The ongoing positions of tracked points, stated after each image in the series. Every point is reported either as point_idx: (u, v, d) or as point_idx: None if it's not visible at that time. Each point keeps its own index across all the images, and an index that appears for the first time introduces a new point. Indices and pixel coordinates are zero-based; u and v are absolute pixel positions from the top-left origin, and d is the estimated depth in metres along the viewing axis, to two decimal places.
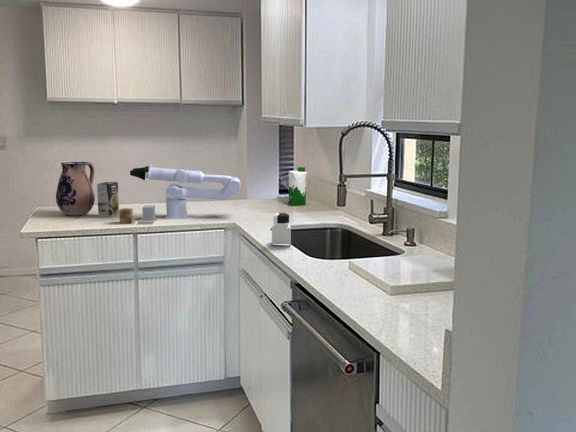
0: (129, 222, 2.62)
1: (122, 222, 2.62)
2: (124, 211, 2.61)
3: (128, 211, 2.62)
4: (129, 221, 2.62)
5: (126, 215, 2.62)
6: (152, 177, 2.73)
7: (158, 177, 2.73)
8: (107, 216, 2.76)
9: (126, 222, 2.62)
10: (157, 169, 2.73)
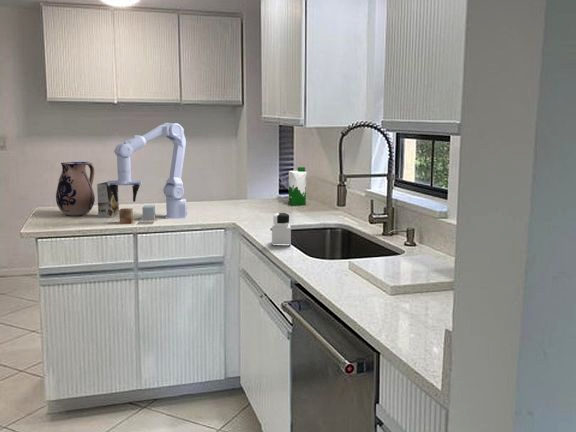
0: (129, 222, 2.62)
1: (122, 222, 2.62)
2: (124, 211, 2.61)
3: (128, 211, 2.62)
4: (129, 221, 2.62)
5: (126, 215, 2.62)
6: None
7: None
8: (107, 216, 2.76)
9: (126, 222, 2.62)
10: (127, 175, 2.59)
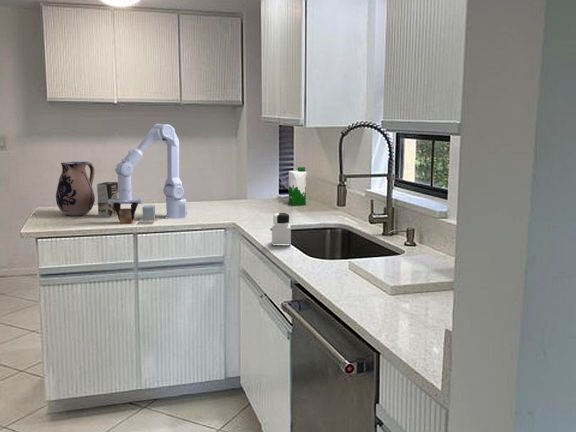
0: (129, 222, 2.62)
1: (122, 222, 2.62)
2: (124, 211, 2.61)
3: (128, 211, 2.62)
4: (129, 221, 2.62)
5: (126, 215, 2.62)
6: None
7: None
8: (107, 216, 2.76)
9: (126, 222, 2.62)
10: (128, 193, 2.60)
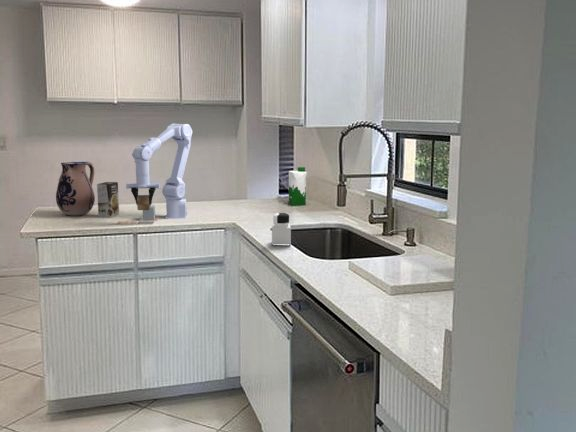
0: (147, 209, 2.61)
1: (140, 209, 2.61)
2: (142, 197, 2.60)
3: (146, 197, 2.60)
4: (147, 208, 2.61)
5: (144, 201, 2.60)
6: None
7: None
8: (107, 216, 2.76)
9: (144, 209, 2.61)
10: (145, 178, 2.59)
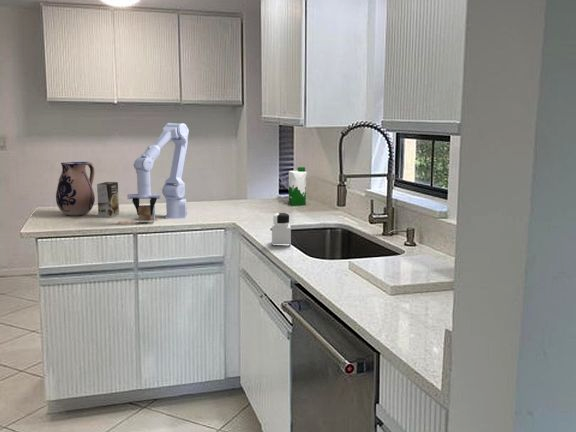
0: (148, 219, 2.62)
1: (141, 219, 2.62)
2: (143, 208, 2.61)
3: (147, 208, 2.61)
4: (148, 218, 2.62)
5: (145, 212, 2.61)
6: None
7: None
8: (107, 216, 2.76)
9: (145, 219, 2.62)
10: (147, 189, 2.60)
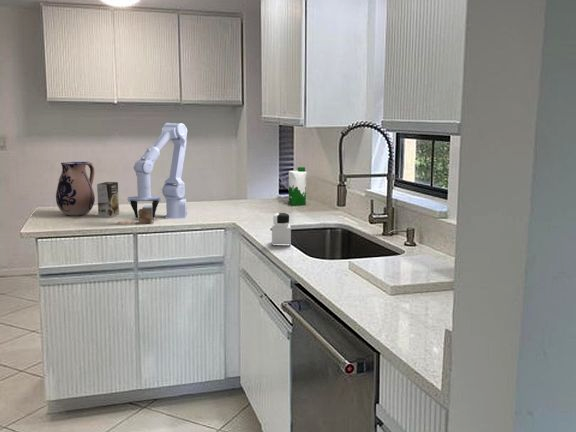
0: (148, 222, 2.62)
1: (141, 222, 2.62)
2: (143, 211, 2.61)
3: (147, 211, 2.61)
4: (148, 222, 2.62)
5: (145, 215, 2.61)
6: None
7: None
8: (107, 216, 2.76)
9: (145, 222, 2.62)
10: (147, 191, 2.60)
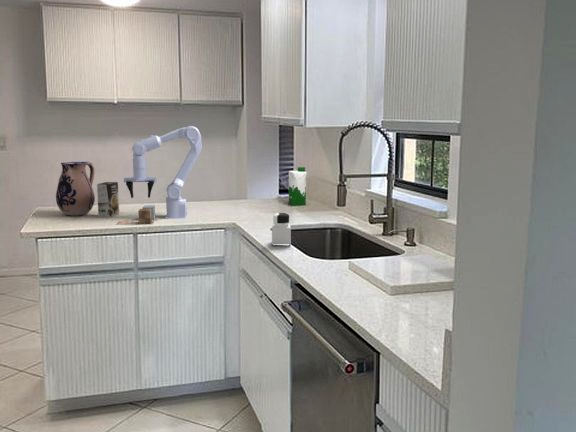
0: (148, 222, 2.62)
1: (141, 222, 2.62)
2: (143, 211, 2.61)
3: (147, 211, 2.61)
4: (148, 222, 2.62)
5: (145, 215, 2.61)
6: None
7: None
8: (107, 216, 2.76)
9: (145, 222, 2.62)
10: (142, 172, 2.70)
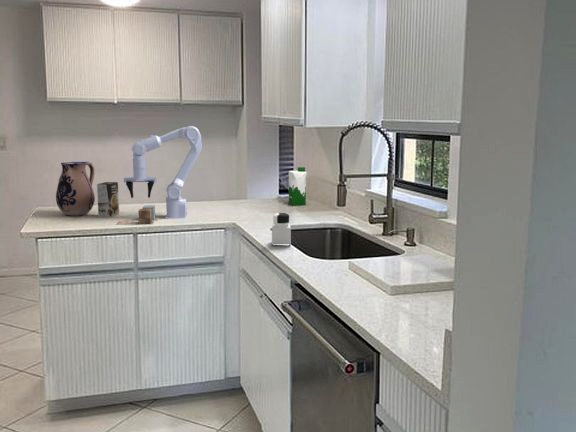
0: (148, 222, 2.62)
1: (141, 222, 2.62)
2: (143, 211, 2.61)
3: (147, 211, 2.61)
4: (148, 222, 2.62)
5: (145, 215, 2.61)
6: None
7: None
8: (107, 216, 2.76)
9: (145, 222, 2.62)
10: (142, 172, 2.70)
